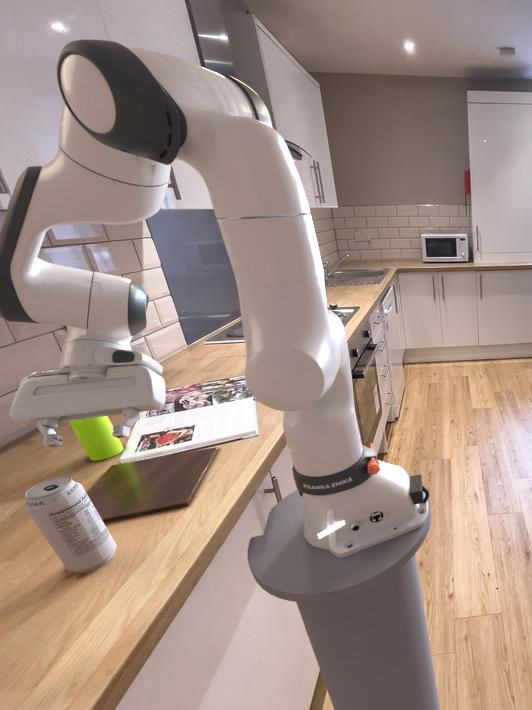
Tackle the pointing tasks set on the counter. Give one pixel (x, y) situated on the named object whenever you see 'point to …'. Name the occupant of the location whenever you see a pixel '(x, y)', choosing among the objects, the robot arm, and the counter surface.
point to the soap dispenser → (97, 437)
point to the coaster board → (150, 484)
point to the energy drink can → (70, 524)
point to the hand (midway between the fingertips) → (87, 441)
